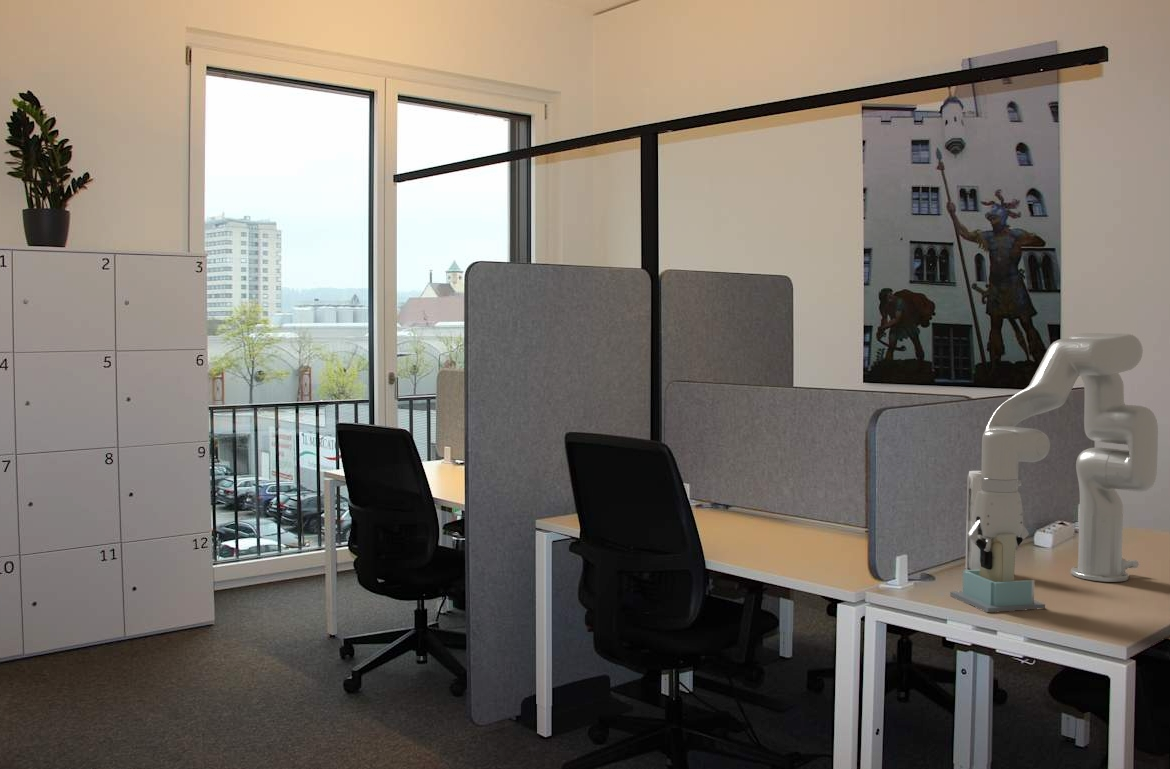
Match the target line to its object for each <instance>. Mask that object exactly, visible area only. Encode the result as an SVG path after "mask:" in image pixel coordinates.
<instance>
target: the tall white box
mask: <svg viewBox="0 0 1170 769" xmlns="http://www.w3.org/2000/svg"><path fill="white" fill-rule="evenodd" d="M966 480H967V482H966V484H967V488H966V489H967V490H966V523H965V524H966V526H965V527H966V529H965V532H966V533H965V568H966V569H965V570H977V569H980V549H978V546H977V545H976V544H975V543H974V542H973V541H972V540H971V539H969V538H968V537H967V535H968V533H969V532H970V530H971V529H972V519H973V510H974V504H975V499H976V495H977V492H978V491H981V470H969V471H968V474H967V477H966ZM977 536H978V538H979V539H980V536H981V535H977Z"/></svg>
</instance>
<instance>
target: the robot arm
mask: <svg viewBox="0 0 1170 769" xmlns="http://www.w3.org/2000/svg"><path fill="white" fill-rule="evenodd" d="M1142 357H1143V346H1142V342H1141V341H1140V339H1139V338H1138V337H1136V336H1135V335H1133V334H1130V333H1099V332H1098V333H1092V332H1091V333H1090V332H1089V333H1088V332H1086V333H1077V334H1073V335H1070V336H1068V337H1067V338H1061V339H1057V340H1055V341H1053V342H1052V343H1051V344H1050V345H1049V347H1048V348H1047V350H1046V352H1045V354H1044V356H1043V357H1042V360H1041V362H1040V363H1039V366H1038V367H1037V369H1036V371H1035V374H1034V375H1033V377H1032V379H1031V380H1030V382H1029V385H1028V386H1027V387H1025V388H1024V389H1022V390H1020V391H1018V392H1017V393H1016V394H1014V395H1012V396H1011V397H1009V398H1008V399H1007V400H1005V401H1004V402H1003V403H1002V404H1000V405H999V406H998V407H997V408H996V409H995V411H994V412H993V414H992V415H991V417H990V418H989V421H988V423H987V424H986V427H985V429H984V432H983V434H982V437H981V438H982V439H981V470H980V471H981V491H978V492H977V495H976V499H975V504H974V510H973V519H972V529H971V530H970V532H969V533H968V535H967V537H968V538H969V539H971V540H972V541H973V542H974V543H975V544H976V545H977V546H978V549H980V563H981V567H983V568H985V569H988V570H991V569H992V552H991V551H990V548H991V544H992V540H993V538H996V537H997V535H1003V534H1016V548H1015V551H1017V550H1018V549H1019V546H1020V545H1021V544H1022V542H1023V541H1024V540H1025V539H1026V538H1027V537H1029V535H1030V534H1029V531H1028V529H1027V528H1026V527H1025V525H1024V514H1023V504H1022V497H1021V493H1020V492H1019V487H1021V486H1022V484H1023V483H1022V480H1021V479H1019V462H1024V463H1025V462H1026V463H1035V462H1039V461H1042V460H1043V459H1044V458H1046V457H1047V456H1048V454H1049V452H1050V449H1051V440H1050V439H1049V437H1048V435H1047V434H1046V433H1044V432H1043V431H1042V430H1039V429H1037V428H1029V427H1019V426H1017V425H1018V424H1019V423H1021V422H1023V421H1024V420H1026V419H1028V418H1031V417H1034V416H1037V415H1040V414H1044V413H1047V412H1050V411H1053V410H1055V409H1058V408H1061V407H1062V406H1064V404H1065V403H1066V402H1067V399H1068V397H1069V395H1070V393H1071V391H1072V389H1073V388H1074V385H1076V384H1075V383H1076V382H1077V379H1078V378H1079V377H1080V378H1081V379H1082V383H1083V387H1084V404H1083V406H1084V409H1083V410H1084V414H1083V416H1084V417H1083V424H1084V425H1083V426H1084V428H1083V429H1084V433H1085V436H1086V437H1087V438H1088V439H1089V440H1091V441H1094V442H1099V443H1106V444H1115V445H1116V444H1117V445H1124V446H1127V447H1128V450H1127V449H1118V448H1109V447H1089V448H1087V449H1084V450H1081V452H1080V453H1079V454H1078V456H1077V457H1076V462H1075V463H1076V464H1075V468H1076V469H1075V471H1076V477H1077V480H1078V488H1079V490H1078V491H1079V513H1078V514H1079V515H1078V516H1079V517H1078V518H1079V519H1078V520H1079V521H1078V550H1077V552H1078V554H1077V556H1078V557H1077V566H1073V567H1071V569H1070V574H1071V575H1072V576H1074V577H1077V578H1078V579H1083V580H1088V581H1095V582H1105V583H1119V582H1126V581H1128V580H1129V576H1130V575H1129V573H1128V572H1127V571H1126V570H1128V569H1137V568H1138V567H1139V565H1140V564H1139V561H1138V560H1137V559H1130V560H1126V558H1123V537H1124V536H1123V530H1124V527H1123V526H1124V505H1123V501H1122V499H1121V497H1120V495H1119V493H1118V492H1117V490H1121V491H1122V490H1123V491H1130V492H1138V493H1142V492H1147V491H1149V490H1151V488H1152V487H1153V486H1154V485H1155V482H1156V479H1157V473H1158V450H1159V449H1158V447H1159V446H1158V445H1159V444H1158V442H1159V427H1158V426H1159V425H1158V424H1159V423H1158V420H1157V418H1156V415H1155V413H1154V412H1153V410H1151V409H1150V408H1148V407H1146V406H1142V405H1133V404H1125V394H1124V393H1125V390H1124V389H1125V388H1124V387H1125V386H1124V381H1123V379H1122V376H1121V375H1120V374H1119V373H1125V372H1129V371H1132V370H1133V369H1134V368H1136V367H1137V366H1138V365H1139V364H1140V362H1141V360H1142ZM977 535H981V536H980V539H979V538H978V536H977ZM985 541H986V542H985Z"/></svg>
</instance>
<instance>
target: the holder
mask: <svg viewBox="0 0 1170 769" xmlns="http://www.w3.org/2000/svg"><path fill="white" fill-rule="evenodd" d="M1035 582H1036V581H1035V580H1034V579H1026V580H1023V579H1022V580H1014V581H1006V582H993V581H991V580H988V579H986V578H983V577H981V576H980V569H977V570H966V569H963V571H962V590H958V591H957V590H955V591H954V590H953V591H950V593H949V594H950V597H951V596H952V598H954V597H955V598H954V599H956V598H957V599H956V600H958V599H959V600H958V601H960V600H961V601H960V602H962V601H964V602H963V603H965V602H966V603H965V604H967V603H968V604H967V605H969V604H971V605H973V606H972V607H974V606H975V607H974V608H976V607H977V608H976V609H978V608H979V609H978V610H980V609H982V610H984V611H983V612H985V611H986V612H985V613H987V612H995V613H998V612H997V611H1009V612H1016V611H1015V610H1023V611H1026V610H1025V609H1037V608H1045V609H1046V604H1045V603H1043V602H1041V601H1039V600H1035ZM971 605H970V606H971ZM982 610H981V611H982ZM1037 610H1038V609H1037Z"/></svg>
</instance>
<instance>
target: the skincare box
mask: <svg viewBox="0 0 1170 769" xmlns="http://www.w3.org/2000/svg"><path fill="white" fill-rule="evenodd" d="M985 542H986V541H985ZM1015 548H1016V534H1003V535H997V537H996V538H993V540H992V544H991V548H990V551H991V552H992V569H991V570H988V569H985V568H983V567H981V563H980V576H981V577H983V578H986V579H988V580H991V581H993V582H1006V581H1015V569H1016V568H1015V565H1016V550H1015Z"/></svg>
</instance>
